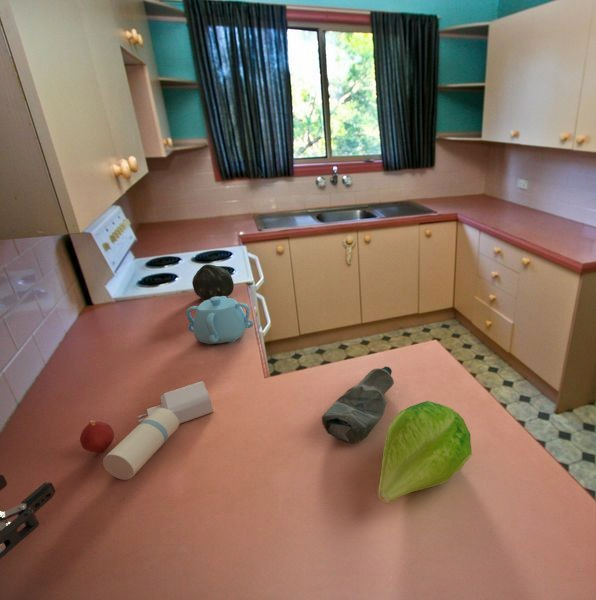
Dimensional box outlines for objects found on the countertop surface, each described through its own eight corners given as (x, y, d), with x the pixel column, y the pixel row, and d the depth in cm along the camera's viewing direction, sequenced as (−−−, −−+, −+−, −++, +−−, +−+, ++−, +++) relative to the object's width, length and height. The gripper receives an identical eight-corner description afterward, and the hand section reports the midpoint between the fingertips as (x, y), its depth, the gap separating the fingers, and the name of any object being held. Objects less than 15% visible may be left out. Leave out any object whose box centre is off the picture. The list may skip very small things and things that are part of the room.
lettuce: (430, 550, 70) (366, 510, 80) (494, 450, 84) (432, 426, 94) (406, 494, 63) (339, 457, 73) (480, 395, 77) (415, 375, 87)
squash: (230, 273, 176) (200, 253, 165) (246, 283, 166) (216, 262, 155) (209, 301, 174) (177, 282, 163) (224, 313, 164) (191, 294, 153)
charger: (139, 417, 100) (206, 394, 108) (142, 439, 93) (214, 413, 101) (133, 400, 98) (202, 379, 106) (136, 422, 91) (210, 397, 99)
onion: (84, 450, 90) (71, 420, 87) (114, 437, 94) (103, 407, 91) (89, 465, 87) (76, 434, 83) (121, 450, 90) (110, 420, 87)
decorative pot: (208, 355, 126) (198, 314, 121) (187, 337, 136) (177, 299, 131) (258, 336, 137) (252, 297, 131) (235, 320, 147) (228, 284, 141)
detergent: (364, 454, 87) (414, 386, 107) (359, 425, 84) (411, 362, 105) (313, 439, 93) (369, 378, 113) (306, 413, 90) (365, 355, 111)
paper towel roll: (123, 484, 83) (169, 435, 96) (140, 471, 81) (184, 422, 94) (96, 463, 82) (146, 416, 95) (112, 449, 80) (161, 402, 92)
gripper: (-146, 606, 50) (-2, 494, 64) (-51, 631, 47) (77, 508, 62) (-183, 564, 47) (-23, 456, 61) (-84, 588, 44) (59, 469, 59)
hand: (27, 482), depth 61 cm, fingers open, 8 cm apart
